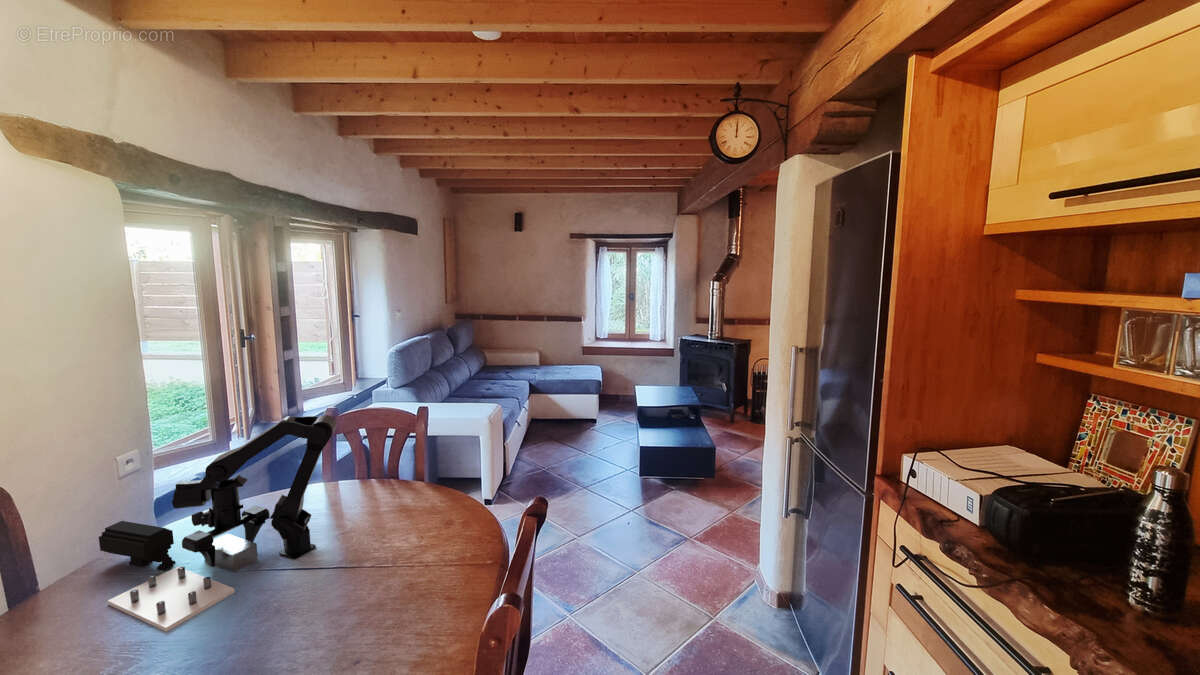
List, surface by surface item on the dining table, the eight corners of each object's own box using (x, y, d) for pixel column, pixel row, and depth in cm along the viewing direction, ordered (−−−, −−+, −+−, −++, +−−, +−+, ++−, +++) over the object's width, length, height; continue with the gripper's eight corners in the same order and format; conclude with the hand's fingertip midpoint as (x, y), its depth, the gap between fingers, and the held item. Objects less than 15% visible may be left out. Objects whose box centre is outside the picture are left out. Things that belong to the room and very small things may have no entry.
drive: (257, 560, 131) (256, 543, 130) (234, 573, 125) (232, 555, 125) (228, 550, 135) (227, 533, 134) (204, 562, 130) (203, 544, 129)
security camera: (156, 577, 123) (152, 540, 121) (100, 566, 126) (95, 531, 125) (185, 561, 129) (181, 526, 128) (130, 551, 133) (126, 517, 131)
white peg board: (234, 592, 118) (233, 579, 117) (166, 631, 105) (164, 617, 104) (178, 570, 126) (176, 557, 125) (108, 604, 113) (106, 590, 112)
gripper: (242, 482, 139) (246, 533, 141) (165, 512, 122) (171, 569, 124) (269, 489, 135) (273, 541, 138) (193, 521, 118) (199, 580, 120)
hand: (231, 556), depth 130 cm, fingers open, 9 cm apart
